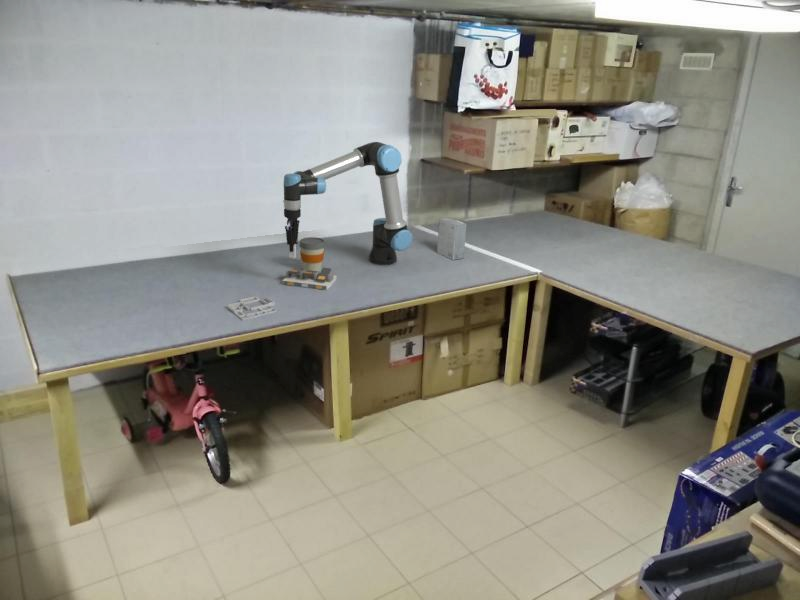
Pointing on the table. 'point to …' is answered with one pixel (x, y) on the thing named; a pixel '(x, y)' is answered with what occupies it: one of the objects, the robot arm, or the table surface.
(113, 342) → the table surface
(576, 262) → the table surface
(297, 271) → the rocker
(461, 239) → the hard drive box
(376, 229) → the robot arm
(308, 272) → the rocker middle
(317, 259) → the reusable coffee cup
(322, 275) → the rocker
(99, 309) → the table surface
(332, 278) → the switch unit
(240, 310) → the floor plan model
